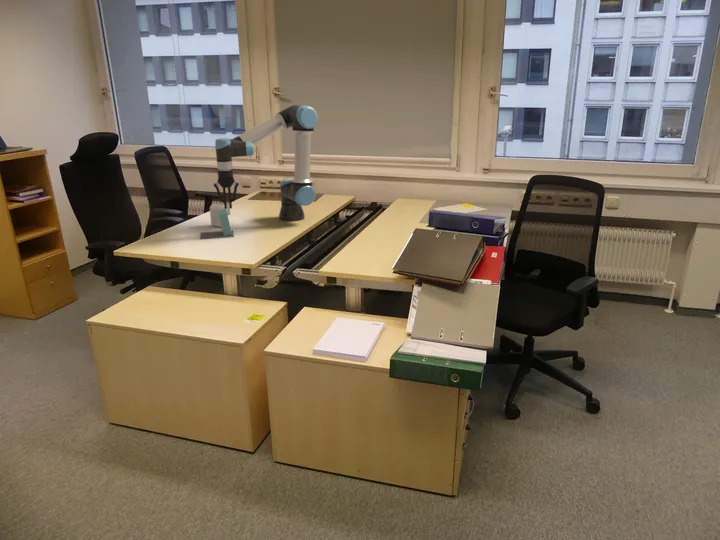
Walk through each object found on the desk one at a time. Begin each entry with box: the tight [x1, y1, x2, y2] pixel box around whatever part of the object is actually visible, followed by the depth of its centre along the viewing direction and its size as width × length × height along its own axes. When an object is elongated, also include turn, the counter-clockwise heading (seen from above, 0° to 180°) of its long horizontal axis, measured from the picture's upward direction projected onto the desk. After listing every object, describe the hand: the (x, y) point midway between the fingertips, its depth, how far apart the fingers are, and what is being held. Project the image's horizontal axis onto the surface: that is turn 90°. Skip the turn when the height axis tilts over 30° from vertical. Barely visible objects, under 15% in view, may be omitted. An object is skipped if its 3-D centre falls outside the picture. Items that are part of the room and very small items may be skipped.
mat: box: [199, 229, 235, 240], centre depth 280 cm, size 17×13×1 cm
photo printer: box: [209, 203, 225, 228], centre depth 296 cm, size 10×4×12 cm, turn 60°
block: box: [219, 209, 232, 236], centre depth 279 cm, size 4×9×12 cm, turn 14°
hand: (228, 214), depth 278 cm, fingers closed
